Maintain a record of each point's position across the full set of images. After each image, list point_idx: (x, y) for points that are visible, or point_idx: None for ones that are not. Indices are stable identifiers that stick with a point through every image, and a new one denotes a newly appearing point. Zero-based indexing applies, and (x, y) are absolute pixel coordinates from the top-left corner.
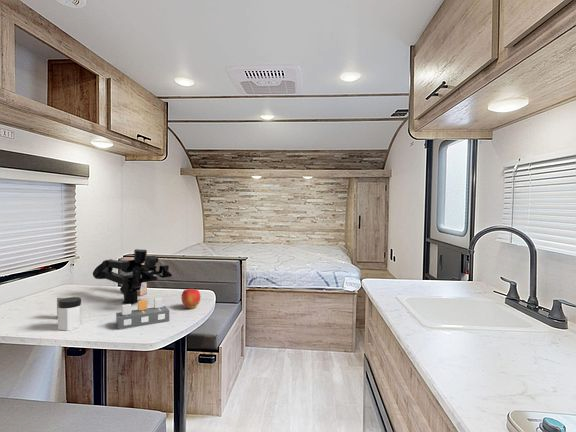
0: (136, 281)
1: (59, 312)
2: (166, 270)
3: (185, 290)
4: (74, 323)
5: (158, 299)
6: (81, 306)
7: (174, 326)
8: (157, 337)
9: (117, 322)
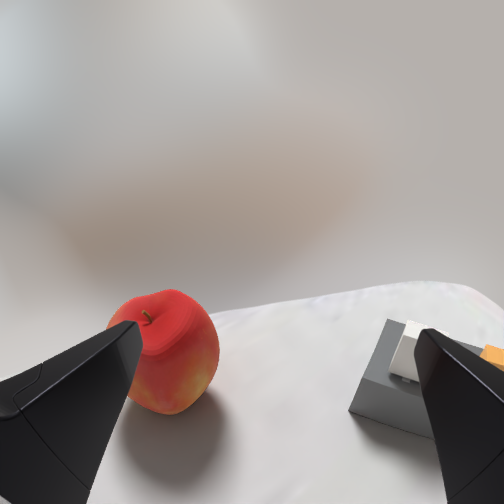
0: None
1: None
2: (10, 395)
3: (185, 325)
4: None
5: (430, 327)
6: None
7: (389, 312)
8: (454, 294)
9: None
